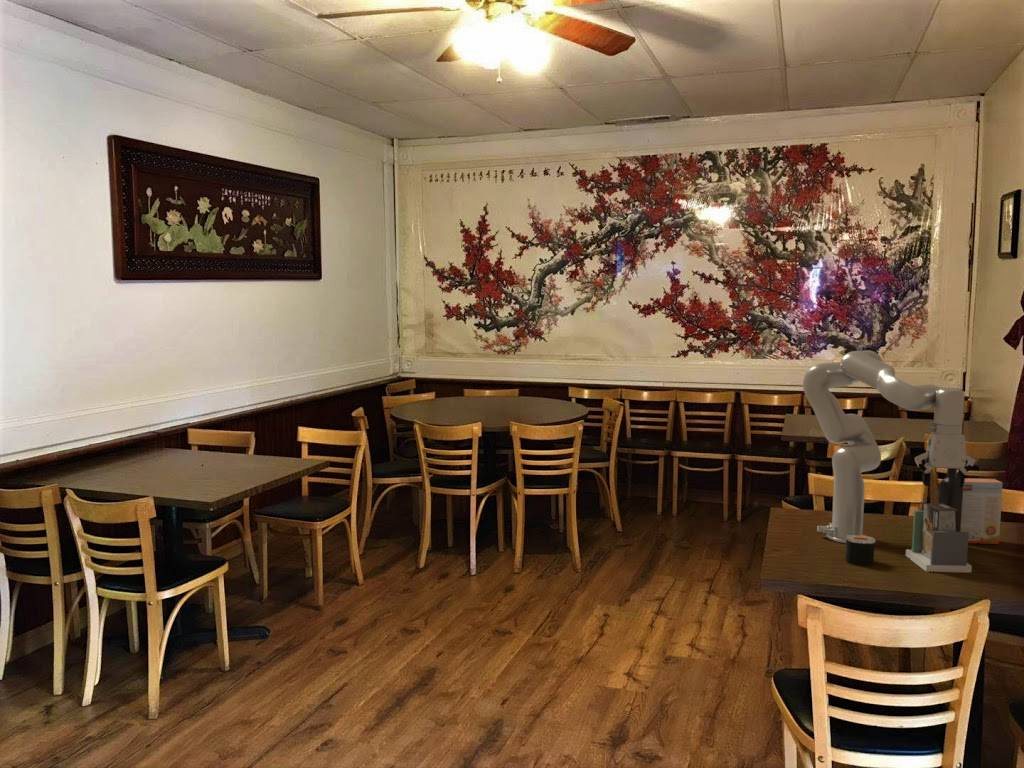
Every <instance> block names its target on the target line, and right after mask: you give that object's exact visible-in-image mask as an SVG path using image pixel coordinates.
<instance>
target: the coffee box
mask: <svg viewBox="0 0 1024 768" xmlns="http://www.w3.org/2000/svg"><path fill="white" fill-rule="evenodd" d="M923 511H924V514H923V532H922V551H921V554H922V555H924V556H926V557H928V558H929V559H931V544H932V531H950V532H958V521H959V510H957V509H955V508H953V507H951V506H948V505H946V504H944V503H938V502H930V503H927V502H925V503H923Z"/></svg>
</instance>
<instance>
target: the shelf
mask: <svg viewBox="0 0 1024 768" xmlns="http://www.w3.org/2000/svg"><path fill="white" fill-rule="evenodd" d="M923 514H924V510H919V509H918V510H915V509H914V510H913V523H912V540H911V549H909V548H907V549H905V557H907V558H908V559H909V558H910V559H909V560H911V561H912V562H913V563H914V564H915V565H917V566H919V567H920V568H921V569H922V570H923V571H925V572H927V573H928V572H930V571H931V572H933V571H934V573H935V572H936V573H969V572H970V573H972V571H973V569H972V568H973V567H972V565H971V564H969V563H968V552H969V551H968V550H969V548H968V547H969V543H968V537H969V533H968V532H950V531H932V544H931V559H929V558H928V557H926V556H924V555H922V554H921V551H922V532H923ZM931 572H930V573H931ZM970 573H969V574H970Z"/></svg>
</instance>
